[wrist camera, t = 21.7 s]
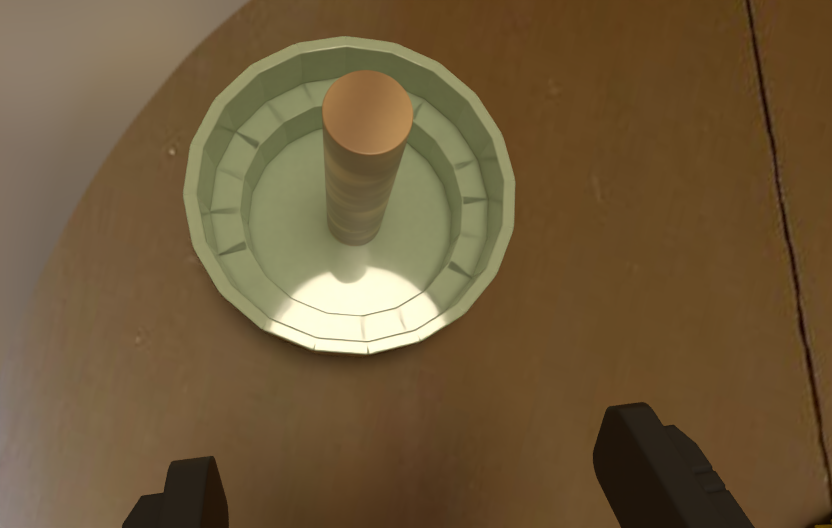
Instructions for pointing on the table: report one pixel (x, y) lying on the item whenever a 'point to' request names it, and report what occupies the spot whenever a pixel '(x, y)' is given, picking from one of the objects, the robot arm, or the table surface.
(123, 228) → the table surface
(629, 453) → the robot arm
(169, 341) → the table surface
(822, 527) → the food
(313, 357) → the table surface
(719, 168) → the table surface
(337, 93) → the stick
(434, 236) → the bowl
